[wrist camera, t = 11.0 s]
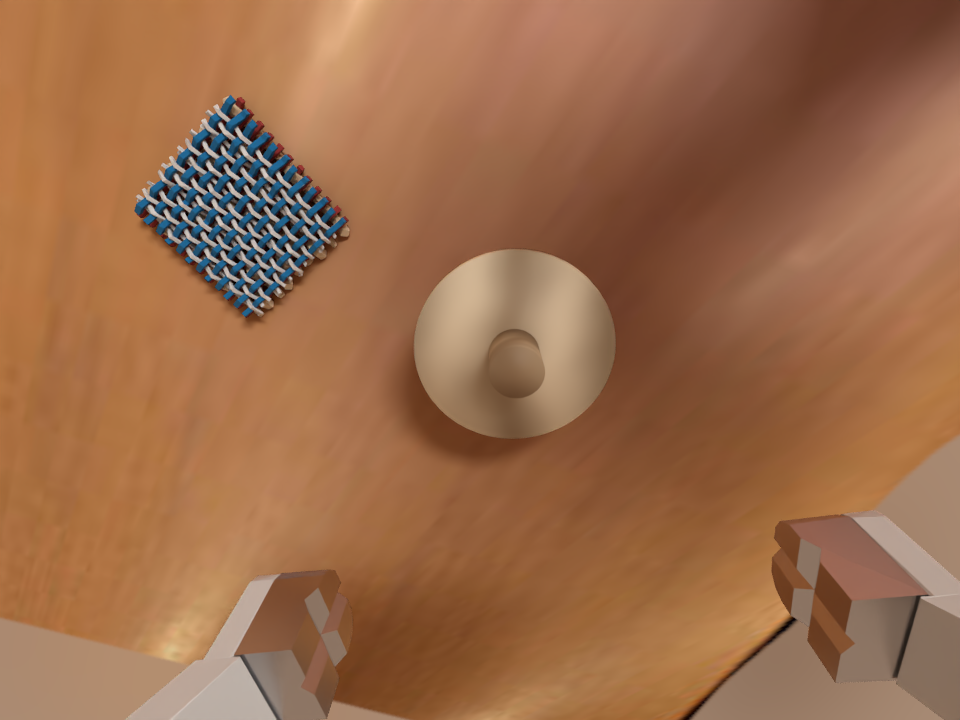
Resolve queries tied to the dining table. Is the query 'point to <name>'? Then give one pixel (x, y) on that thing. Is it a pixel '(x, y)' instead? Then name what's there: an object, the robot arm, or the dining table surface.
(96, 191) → the dining table surface
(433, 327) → the drop lid
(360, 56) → the dining table surface
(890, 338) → the dining table surface
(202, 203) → the woven mat
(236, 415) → the dining table surface
